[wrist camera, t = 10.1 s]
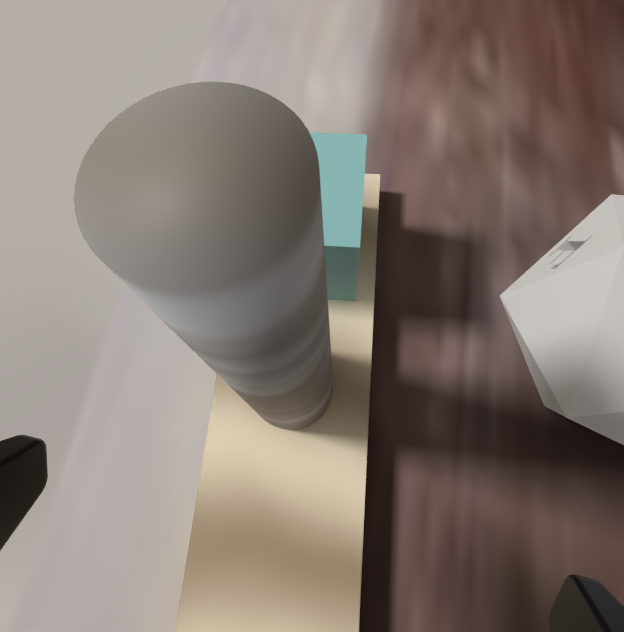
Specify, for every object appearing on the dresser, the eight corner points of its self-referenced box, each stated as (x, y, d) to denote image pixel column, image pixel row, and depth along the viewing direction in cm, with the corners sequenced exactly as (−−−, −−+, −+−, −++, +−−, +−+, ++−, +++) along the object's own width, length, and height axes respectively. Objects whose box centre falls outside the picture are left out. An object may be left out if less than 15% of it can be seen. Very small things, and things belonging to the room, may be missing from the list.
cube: (355, 301, 19) (360, 247, 15) (247, 294, 20) (222, 240, 16) (361, 206, 21) (367, 134, 17) (260, 202, 21) (241, 130, 17)
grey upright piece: (353, 702, 16) (427, 1804, 2) (175, 679, 16) (-551, 1495, 3) (378, 187, 22) (432, -241, 9) (253, 182, 23) (138, -231, 10)
